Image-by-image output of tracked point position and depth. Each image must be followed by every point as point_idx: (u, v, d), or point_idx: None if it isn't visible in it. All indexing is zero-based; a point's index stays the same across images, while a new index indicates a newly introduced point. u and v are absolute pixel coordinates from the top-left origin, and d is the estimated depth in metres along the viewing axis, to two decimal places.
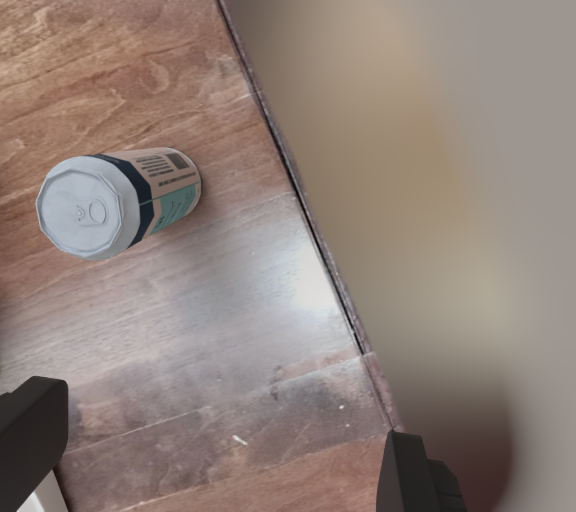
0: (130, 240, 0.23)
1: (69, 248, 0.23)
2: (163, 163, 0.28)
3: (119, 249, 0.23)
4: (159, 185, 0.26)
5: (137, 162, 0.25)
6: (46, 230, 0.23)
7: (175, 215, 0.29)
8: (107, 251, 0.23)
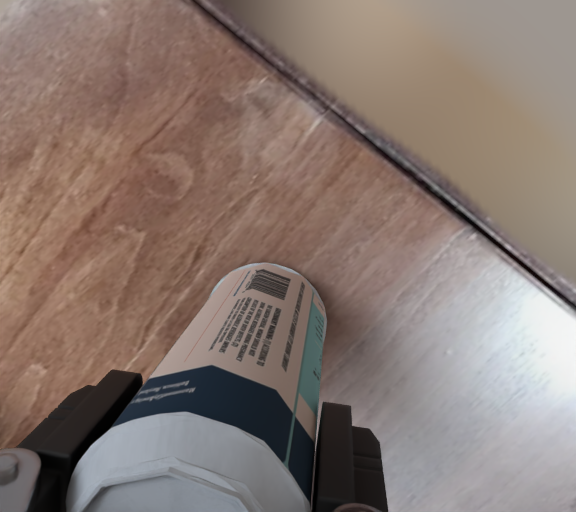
0: None
1: None
2: (259, 309, 0.15)
3: None
4: (285, 368, 0.12)
5: (225, 351, 0.12)
6: None
7: None
8: None
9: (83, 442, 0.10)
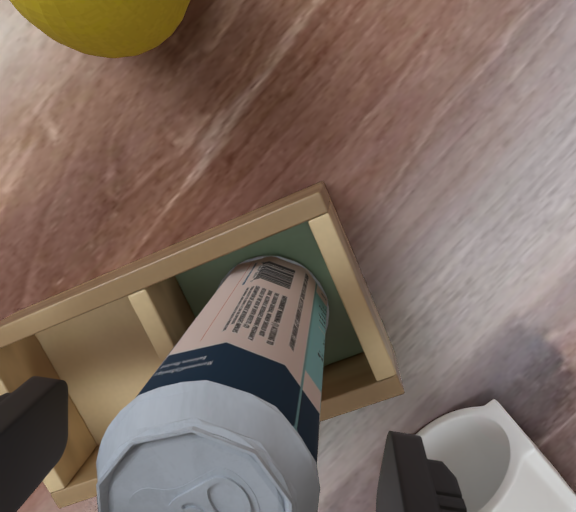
0: (315, 506, 0.10)
1: None
2: (267, 296, 0.16)
3: None
4: (292, 347, 0.13)
5: (237, 331, 0.13)
6: None
7: (323, 362, 0.17)
8: None
9: None
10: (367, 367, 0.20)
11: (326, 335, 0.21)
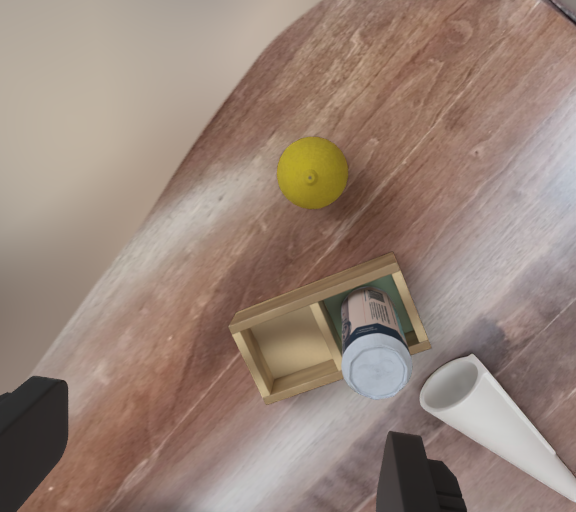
0: (411, 372, 0.34)
1: (379, 396, 0.34)
2: (379, 306, 0.40)
3: (407, 381, 0.34)
4: (396, 325, 0.37)
5: (378, 319, 0.36)
6: (361, 392, 0.34)
7: None
8: (402, 386, 0.34)
9: None
10: (413, 337, 0.44)
11: None
